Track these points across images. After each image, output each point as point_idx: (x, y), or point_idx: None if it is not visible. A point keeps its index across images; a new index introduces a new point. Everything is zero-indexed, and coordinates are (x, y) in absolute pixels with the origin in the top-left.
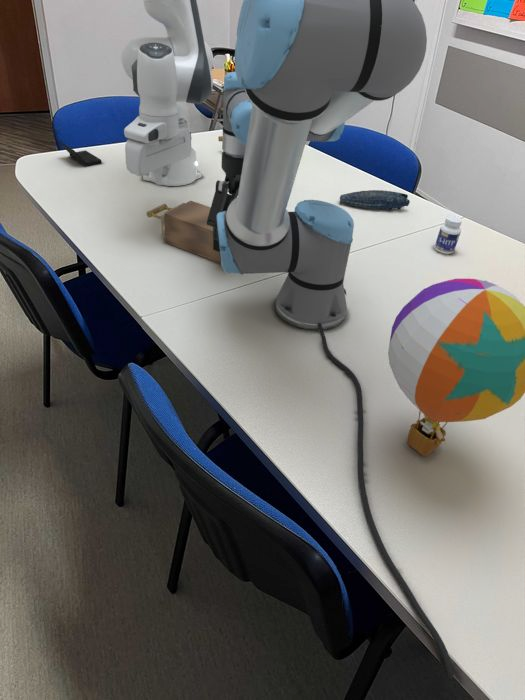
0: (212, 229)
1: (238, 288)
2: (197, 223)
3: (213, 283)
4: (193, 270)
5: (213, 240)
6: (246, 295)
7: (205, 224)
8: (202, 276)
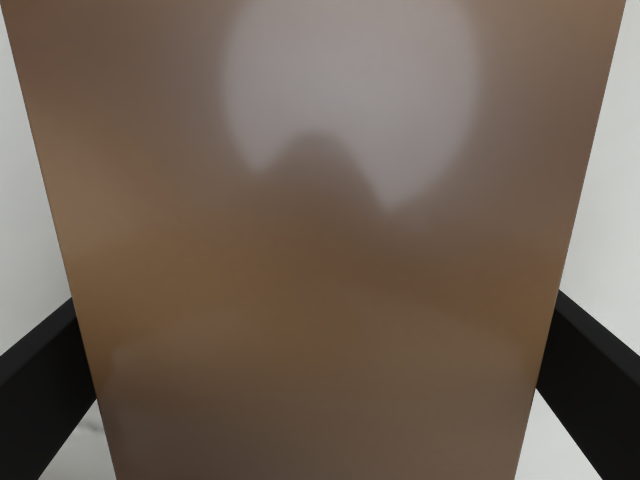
0: (92, 272)
1: (86, 430)
2: (55, 25)
3: (21, 334)
4: (19, 181)
5: (41, 323)
6: (73, 473)
7: (120, 133)
8: (19, 257)
